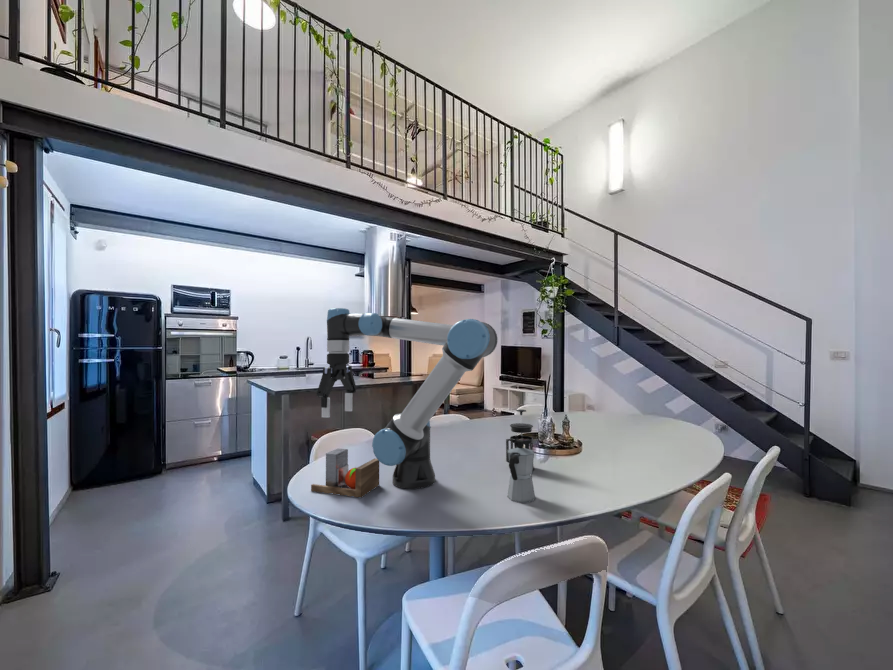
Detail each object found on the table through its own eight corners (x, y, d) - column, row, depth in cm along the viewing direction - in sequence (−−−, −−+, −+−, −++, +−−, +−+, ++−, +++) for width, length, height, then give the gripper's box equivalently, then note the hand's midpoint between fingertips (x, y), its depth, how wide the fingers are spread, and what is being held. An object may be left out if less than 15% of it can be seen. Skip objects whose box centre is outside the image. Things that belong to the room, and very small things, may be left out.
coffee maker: (515, 488, 129) (514, 434, 130) (540, 493, 124) (540, 437, 125) (497, 504, 116) (496, 444, 117) (525, 510, 111) (524, 447, 112)
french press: (528, 463, 157) (527, 407, 158) (540, 470, 148) (539, 410, 149) (501, 466, 154) (501, 408, 154) (512, 473, 145) (512, 412, 145)
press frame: (379, 485, 133) (379, 458, 133) (360, 497, 121) (361, 469, 122) (332, 479, 139) (332, 454, 139) (311, 491, 127) (311, 463, 128)
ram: (349, 484, 134) (349, 449, 134) (337, 491, 127) (337, 454, 128) (337, 482, 135) (338, 448, 136) (325, 489, 129) (325, 453, 129)
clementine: (359, 494, 124) (359, 472, 125) (339, 493, 126) (339, 471, 126) (369, 485, 132) (369, 465, 132) (350, 484, 134) (350, 464, 134)
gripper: (348, 352, 146) (348, 408, 146) (305, 353, 123) (304, 419, 122) (366, 352, 144) (365, 409, 143) (325, 353, 120) (324, 421, 119)
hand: (337, 414), depth 132 cm, fingers open, 13 cm apart
